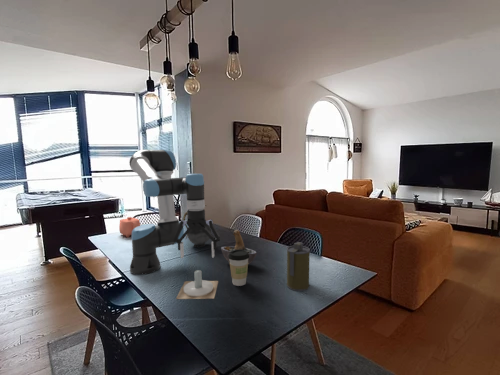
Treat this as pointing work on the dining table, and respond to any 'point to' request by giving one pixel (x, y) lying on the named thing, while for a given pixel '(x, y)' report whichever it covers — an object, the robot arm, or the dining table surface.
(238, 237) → the planter
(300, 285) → the canister
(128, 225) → the teapot
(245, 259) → the coffee cup
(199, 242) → the pitcher
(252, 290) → the dining table surface
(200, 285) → the lid
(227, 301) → the dining table surface
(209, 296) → the mat
